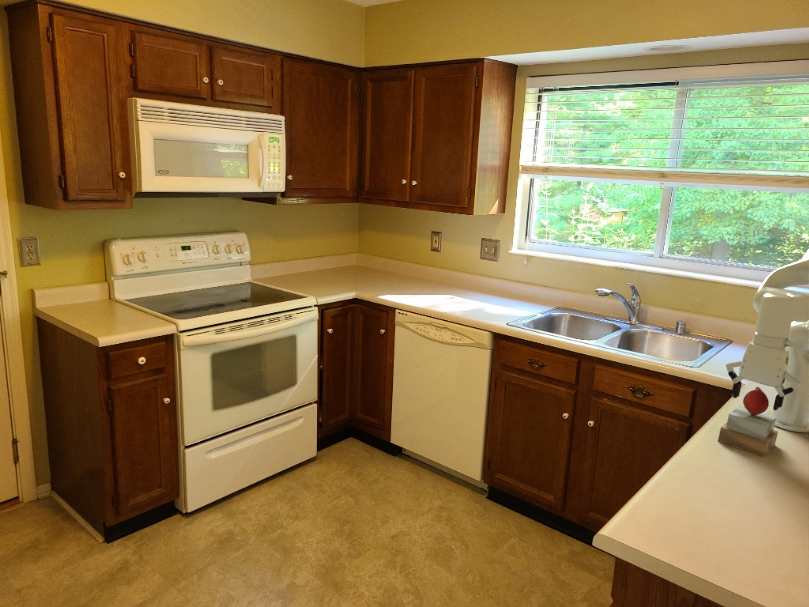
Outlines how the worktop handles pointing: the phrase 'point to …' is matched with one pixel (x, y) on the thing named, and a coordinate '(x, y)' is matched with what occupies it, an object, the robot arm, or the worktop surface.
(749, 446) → the wood and metal block
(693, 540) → the worktop surface
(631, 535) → the worktop surface
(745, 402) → the onion
